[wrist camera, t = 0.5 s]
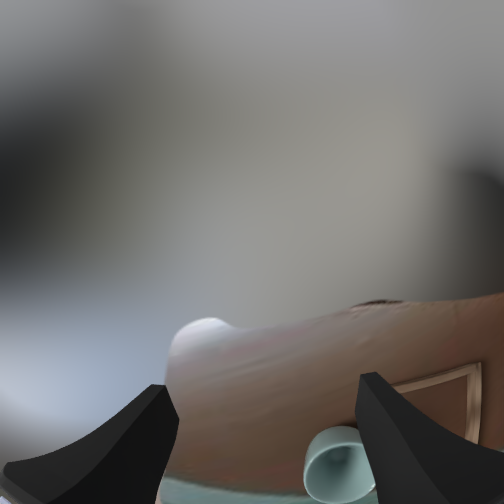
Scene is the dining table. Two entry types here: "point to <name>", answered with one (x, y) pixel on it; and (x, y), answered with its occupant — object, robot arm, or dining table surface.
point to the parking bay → (472, 393)
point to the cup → (337, 466)
